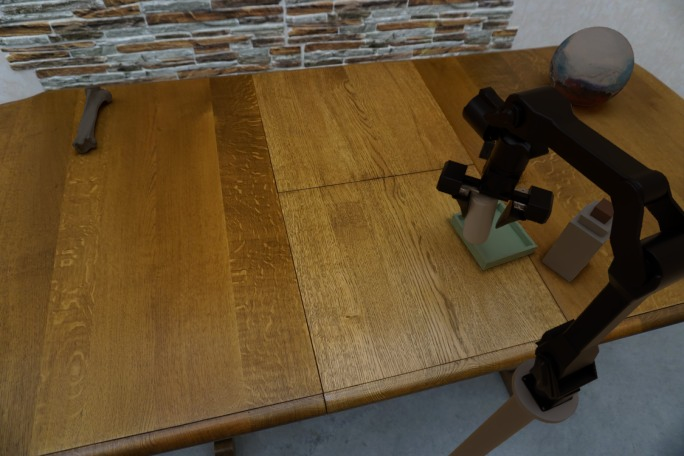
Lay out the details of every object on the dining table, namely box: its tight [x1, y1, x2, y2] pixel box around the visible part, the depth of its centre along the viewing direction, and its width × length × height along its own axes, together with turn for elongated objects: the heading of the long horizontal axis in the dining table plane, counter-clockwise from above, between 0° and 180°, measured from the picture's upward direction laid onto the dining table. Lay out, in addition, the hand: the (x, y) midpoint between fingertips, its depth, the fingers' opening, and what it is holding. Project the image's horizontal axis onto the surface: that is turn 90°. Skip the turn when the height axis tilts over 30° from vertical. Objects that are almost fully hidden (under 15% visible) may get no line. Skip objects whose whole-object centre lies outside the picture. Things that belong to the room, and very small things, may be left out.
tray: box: [449, 200, 538, 271], centre depth 98 cm, size 13×12×3 cm
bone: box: [71, 84, 113, 154], centre depth 112 cm, size 22×6×6 cm, turn 8°
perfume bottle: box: [541, 197, 614, 283], centre depth 89 cm, size 7×7×18 cm
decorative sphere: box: [548, 25, 635, 107], centre depth 123 cm, size 20×20×20 cm
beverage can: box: [463, 191, 499, 244], centre depth 83 cm, size 5×5×12 cm
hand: (480, 221), depth 84 cm, fingers closed on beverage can, 6 cm apart
